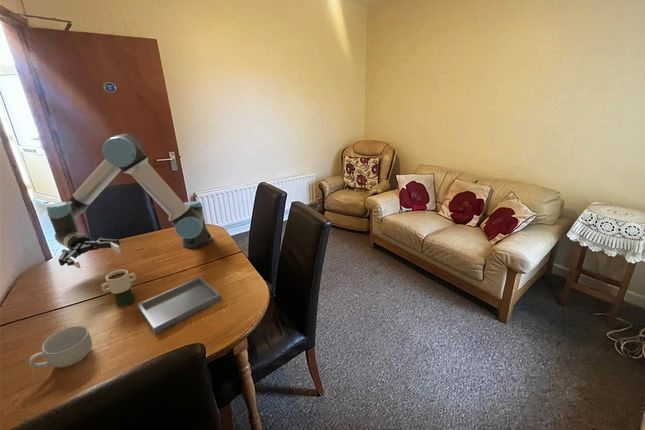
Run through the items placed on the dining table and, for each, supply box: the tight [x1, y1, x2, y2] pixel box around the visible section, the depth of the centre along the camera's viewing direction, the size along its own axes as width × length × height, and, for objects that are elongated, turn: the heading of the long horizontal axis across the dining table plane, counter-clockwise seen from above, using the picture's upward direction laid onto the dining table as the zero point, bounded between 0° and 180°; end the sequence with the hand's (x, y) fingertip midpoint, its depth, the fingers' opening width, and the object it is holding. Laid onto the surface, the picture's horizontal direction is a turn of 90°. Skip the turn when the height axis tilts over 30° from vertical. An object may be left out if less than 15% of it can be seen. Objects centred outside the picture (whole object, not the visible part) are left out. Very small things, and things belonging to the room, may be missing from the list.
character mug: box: [100, 269, 137, 307], centre depth 110 cm, size 11×7×13 cm, turn 136°
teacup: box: [28, 325, 93, 369], centre depth 86 cm, size 14×11×8 cm
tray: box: [136, 276, 223, 336], centre depth 109 cm, size 24×18×3 cm
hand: (99, 257), depth 110 cm, fingers open, 13 cm apart
